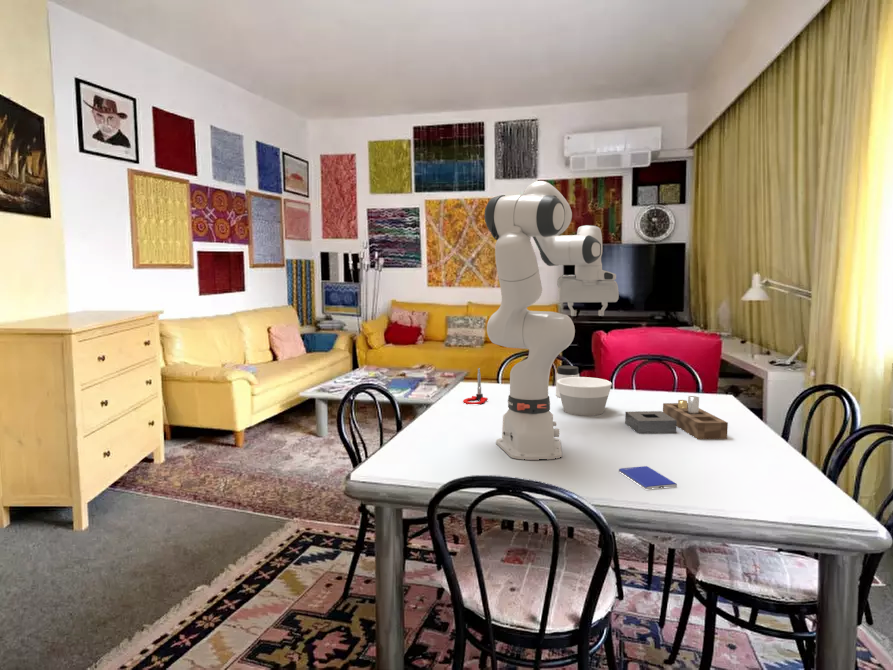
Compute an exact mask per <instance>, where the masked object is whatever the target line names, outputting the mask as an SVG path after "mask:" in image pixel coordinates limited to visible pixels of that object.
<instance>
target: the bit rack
mask: <svg viewBox="0 0 893 670" xmlns="http://www.w3.org/2000/svg"><path fill="white" fill-rule="evenodd" d="M662 412H663V413H665V414H667V415H668V416H670V417H672V418H673V419H675V420H677V425H676V428H679V429H680V428H681V429H680V430H682V431H683V430H684V432H685V433H687V434H688V433H689V436H691V435H692V436H691V437H693V436H694V437H693V438H695V439H696V438H697V439H696V440H727V439H728V428H729V427H728V426H729V425H728V424H729V423H728V422H727V421H725V420H724V419H721V418H719V417H717V416H715V415H713V414H711V413H709V412H708V411H706V410H704V409H701V408H699V412H698V414H688V402H687V408H678V402H671V403H670V402H668V403H667V402H665V403H664V402H663V404H662Z"/></svg>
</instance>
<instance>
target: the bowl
mask: <svg viewBox="0 0 893 670" xmlns="http://www.w3.org/2000/svg"><path fill="white" fill-rule="evenodd" d="M557 384H558V388H559V392H560V396H561V398H560V399H561V405H562V409H563V411H564V412H565V413H567V414H570V415H574V416H584V417H586V416H587V417H588V416H590V417H591V416H599V415H602V414H603V413H604V412H605V409H606V405H607V402H608V399H609V398H608V397H609V395H610V392H611V388H612V384H613V383H612V382H611V380H610V381H609V380H607V379H605V378H598V377H590V376H589V377H587V376H579V377H568V378H562V379H559V380H558V381H557Z"/></svg>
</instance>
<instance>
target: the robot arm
mask: <svg viewBox="0 0 893 670" xmlns="http://www.w3.org/2000/svg"><path fill="white" fill-rule="evenodd" d="M483 216H484V223H485V226H486V227H487V229H488V231H489V232H490V234H491V236H492V238H493V239H494V240H496V242H495V244H494V246H495V248H494V249H495V250H494V257H495V267H496V272H497V273H496V274H497V278H498V282H499V289H500V293H501V302H500V306H499V308H498V309H497V310H496V311H495V312H493V313H492V314H491V315H490V317H489V319H488V321H487V323H486V333H487V336H488V338H489V341H491V343H492V344H495V345H498V346H502V347H505V348H509V349H510V348H511V349H523V350H524V349H527V350H528V356H527V358H525V359H523V360H521V361H519V362H517V363H515V364H514V366H512V367H511V370H510V373H509V395H507V396H508V399H507V408H508V409H507V411H506V412H505V413H504V414H503V415H502V428H501V429H502V432H501V438H497V439H496V440H495V441H496V442H495V443H496V445H497V446H498V447H500V449H501V450H502V451H503V452H505V453H506V454H507V455H508V456H509V457H510V458H512V459H514V460H515V459H516V460H524V459H525V461H528V460H529V461H530V460H531V461H540V460H539V459H547V460H556V459H560V457H561V458H562V457H563V452H562V445H561V439H560V435H561V434H560V432H561V430H560V429H559V428H554V427H556V426H557V421H554V414H553V413H552V412H551V411H550V410H551V401H550V400H551V399H550V396H549V385H550V384H549V383H550V373H551V368H552V366H553V363H554V362H555V360H556V358H557V357H558V356H559V355H560V354H561V353H562V352H563V351H564V350H566V349H567V348H569V346H571V344H572V342H573V341H574V338H575V333H576V329H575V325H574V322H573V320H572V318H571V317H576V316H577V310H574V308H573V306H574V303H601V306H602V307H601V309H598V314H597V315H598V316H599V317H600V316H601V317H604V316H605V310H606V309H607V308H608V305H609V304H608V303H617V302H618V300H619V299H620V297H619V295H620V294H619V286H618V283H617V281H615V280H616V279H617V273H614V272H611V271H607V270H603V263H602V255H603V235H602V229H601V228H600V227H598V225H591V224H590V225H589V224H585V225H581V226H579V227H578V228H577V231H576V234H574V235H573V234H569V235H567V234H566V235H562V234H563V233H564V232H565V231H566V230H567V229H568V228H569V226H570V224H571V222H572V218H573V212H572V209H571V206H570V203H569V202H568V201H567V199H566V198H565V196H563V194H562V193H561V192H560V191H559V190H558V189H557V187H555V186H553V185H552V184H551V183H550V182H548V181H545V180H536V181H534V182H532V183H530V184H529V185H527V186H526V188H525V190H524V191H523V193H521V194H520V193H519V194H518V193H517V194H509V195H504V194H501V195H497V196H494V197H492V198H490V199H489V200H488V202H487V204H486V206H485V207H484V215H483ZM531 238H532V239H533V240H534V243H535V245H536V246H537V248H538V250H539V255H540V259H541V260H542V262H543V263H544V264H545V265H546V266H548V267H553V266H554V267H555V266H561V265H562V266H574V274H562V275H561V276H559V277H558V278H557V288H558V289H557V298H556V299H557V301H558V302H559V303H567V306H568V309H569V311H570V316H571V317H570V316H569V315H567V314H564V313H561V312H556V311H548V310H547V311H545V310H543V311H540V310H529V309H528V307H530V306H532V305H534V304H535V303H536V302H538V300H539V299H540V298H541V296H542V293H543V286H542V282H541V281H542V280H541V274H540V269H539V263H538V260H537V259H538V258H537V256H536V253H535V249H534V246H533V244H532V241H531ZM555 458H556V459H555Z"/></svg>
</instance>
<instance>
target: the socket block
mask: <svg viewBox="0 0 893 670" xmlns="http://www.w3.org/2000/svg"><path fill="white" fill-rule="evenodd" d="M624 424H625V425H626V424H627V425H626V426H628V427H629V426H630V427H631V428H630V427H629V428H630V429H631V430H633V429H634V430H635V431H634V430H633V431H634V432H636V434H638V433H639V434H676V433H677V426H676V425H677V420H675V419H673V418H672V417H670V416H668V415H667V414H665V413H663V410H653V411H652V410H647V411H645V410H643V411H641V410H640V411H625V416H624Z"/></svg>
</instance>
